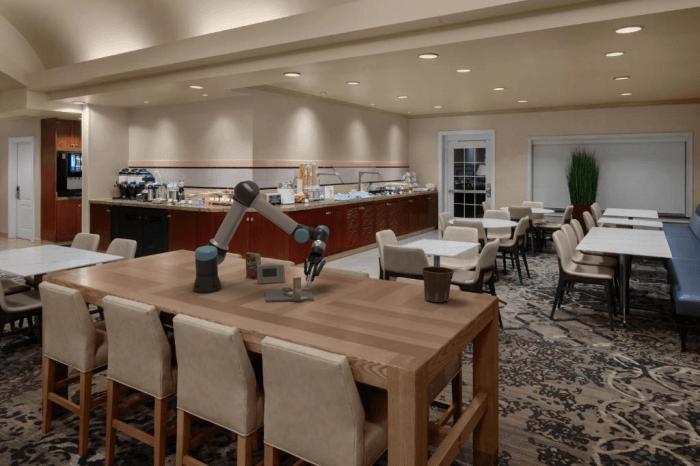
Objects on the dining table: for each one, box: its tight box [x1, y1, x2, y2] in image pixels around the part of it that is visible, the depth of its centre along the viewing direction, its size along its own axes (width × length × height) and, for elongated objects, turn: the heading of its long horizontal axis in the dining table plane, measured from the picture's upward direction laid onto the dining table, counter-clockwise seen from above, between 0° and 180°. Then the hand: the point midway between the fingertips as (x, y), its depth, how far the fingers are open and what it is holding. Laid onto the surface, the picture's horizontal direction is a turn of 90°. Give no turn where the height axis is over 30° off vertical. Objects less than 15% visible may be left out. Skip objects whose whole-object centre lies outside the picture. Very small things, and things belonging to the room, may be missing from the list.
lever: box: [281, 276, 302, 299], centre depth 254 cm, size 15×5×11 cm, turn 35°
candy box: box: [245, 252, 262, 280], centre depth 300 cm, size 9×4×15 cm, turn 61°
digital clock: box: [256, 263, 286, 285], centre depth 289 cm, size 16×9×11 cm, turn 95°
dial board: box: [265, 288, 314, 303], centre depth 258 cm, size 24×23×3 cm
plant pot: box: [421, 266, 455, 303], centre depth 253 cm, size 16×16×16 cm
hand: (307, 286), depth 262 cm, fingers closed
